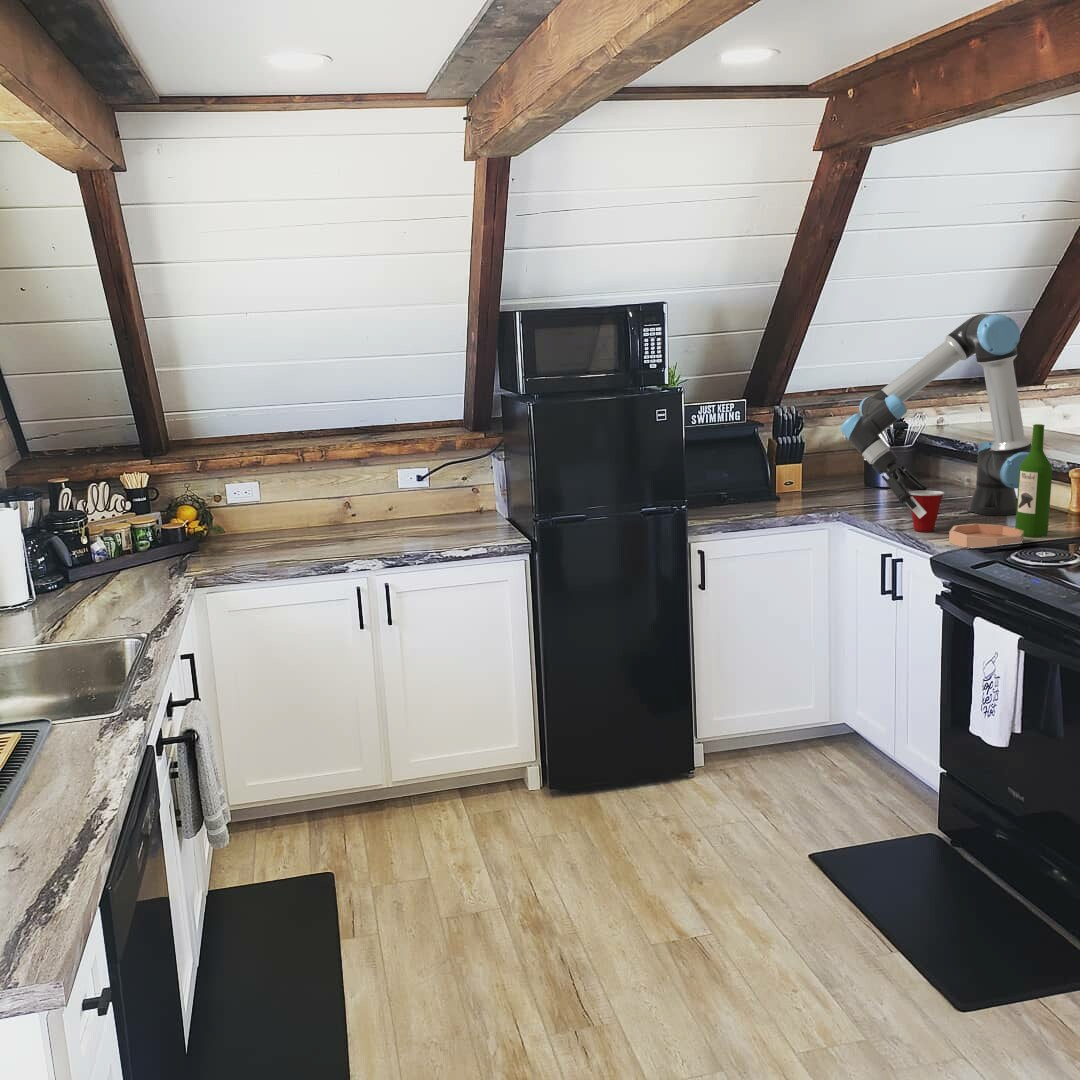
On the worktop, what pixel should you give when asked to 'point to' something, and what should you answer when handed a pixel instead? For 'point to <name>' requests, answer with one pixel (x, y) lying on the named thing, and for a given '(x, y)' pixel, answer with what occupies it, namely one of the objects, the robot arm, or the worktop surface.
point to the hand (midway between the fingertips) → (929, 512)
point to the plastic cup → (926, 509)
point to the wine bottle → (1034, 489)
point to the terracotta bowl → (984, 535)
